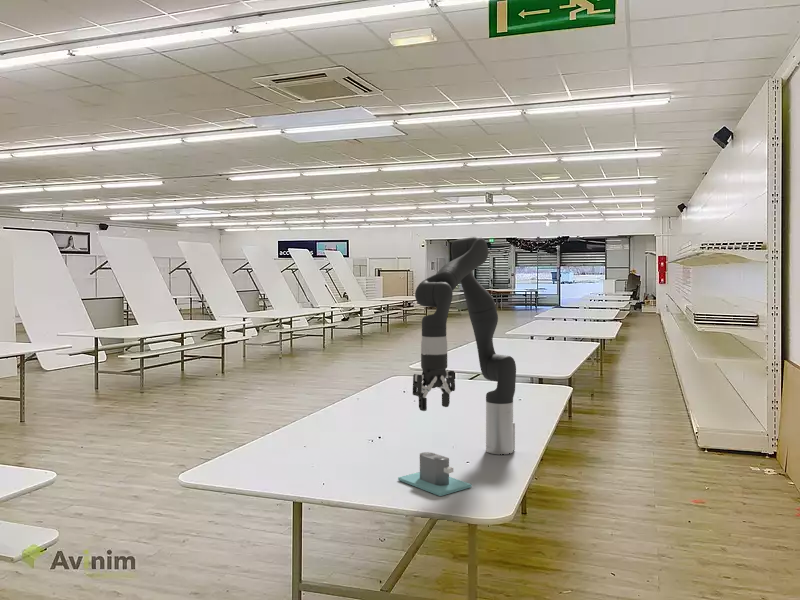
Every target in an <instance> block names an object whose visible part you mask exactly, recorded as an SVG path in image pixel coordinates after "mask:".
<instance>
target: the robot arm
mask: <svg viewBox="0 0 800 600" xmlns="http://www.w3.org/2000/svg"><path fill="white" fill-rule="evenodd" d="M450 251H451V252H450V253H451V254H450V255H451V258H452V260H451V261H449V262H447V263H445V264H444V265H443V266H442V267H441V268H440V269H439V270H438V271H437V272H436V273H435V274H433V275H431V276H430V277H427V278H425V279H424V280H422V281H421V282H420V283H419V284H417V287H416V289H415V292H414V297H415V301H416V302H417V304H418V305H419V306H422V307H426V308H427V307H429V308H434V307H436V308H435V309H436V310H435V311H434V313H432V314H428V315H425V316H423V317H422V319H421V340H420V367H421V369H422V373H421V374H417V373H414V374H413V376H412V395H413V396H416V397H418V408H419V409H418V410H420V411H422V412H425V411H428V410H427V407H428V406H427V401H428V399H427V395H428V394H429V392H431V390H433V389H436V388H439V389H440V391H441V392H442V393H441V406H442V407H443V408H448V407H449V406H450V397H451V396H450V395H451V393H452V392H455V391H456V379H455V378H456V377H455V375H456V374H455V371H454V370H449V369H447V368H448V339H447V321H448V315H449V312H450V308H451V304H452V300H453V296H454V293H453V291H454V290H455V289H456V288H457V286H459V284H461V287H462V291H463V295H464V298H465V299H464V300H465V303H466V308H467V312H468V316H469V319H470V322H471V326H472V329H473V335H474V338H475V343H476V349H477V354H478V363H479V367H480V371H481V374H482V376H483V377H484V379H486V380H488V381H491V382H492V381H493V382H497V384H496V388H495V389H494V390H491V391H488V392H487V393H486V394H485V451H486V452H487V453H488V454H491V455H500V454H501V455H502V454H504V455H509V453H510V454H512V453H514V451H513V450H515V451H516V423H515V422H514V397H515V396H514V395H515V393H516V383H517V382H516V380H517V365H516V361H515V359H514V358H513V356H511V355H506V354H505V355H504V354H497V353H496V351H495V347H494V342H493V338H494V334H495V332H496V328H497V326H498V322H499V316H498V310H497V307H496V304H495V303H496V302H495V300H494V298H493V296H492V294H490V293H489V291H488V290H487V289H486V288H485V287H484V286H483V285H482V284H481V283H480V281H478V280H477V278H475V276H474V273H473V271H475V269H477V268H478V267H480V266H482V265H483V264H484V263H485V262H486V261H487V259H488V257H489V247H488V244H487V241H486V240H485V239H484V237H481V236H470V237H465V238H459V239H455V240H453V241H452V242H451V246H450ZM502 456H503V455H502Z"/></svg>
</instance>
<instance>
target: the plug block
mask: <svg viewBox="0 0 800 600" xmlns="http://www.w3.org/2000/svg"><path fill="white" fill-rule="evenodd" d="M419 472H420V479H421V480H424V481H426V482H429V483H432V484H434V485H438V486H445V485H448V484H449V477H450V474H452V473H454V467H453V466H450V458H449V457H447V456H445V455H441V454H437V453H435V452H430V451H425V452H420V453H419Z"/></svg>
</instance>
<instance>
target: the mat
mask: <svg viewBox="0 0 800 600" xmlns="http://www.w3.org/2000/svg"><path fill="white" fill-rule="evenodd" d="M397 480H398V481H399V482H402V483H405V484H407V485H410V486H412V487H416V488H417V489H421V490H423V491H426V492H428V493H431V494H433V495H435V496H439V497H441V496H442V497H443V496H446V495H448V494H449V495H450V494H453V493H455V492H460V491H462V490H467V489H470V488H472V483H469V482H466V481H463V480H460V479H457V478H455V477H451V476H449V484H448V485H445V486H438V485H434V484H432V483H429V482H426V481H424V480H421V479H420V471H418V472H416V473H414V472H413V473H411V474H410V473H409V474H406V475H402V476H398V478H397Z"/></svg>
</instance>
